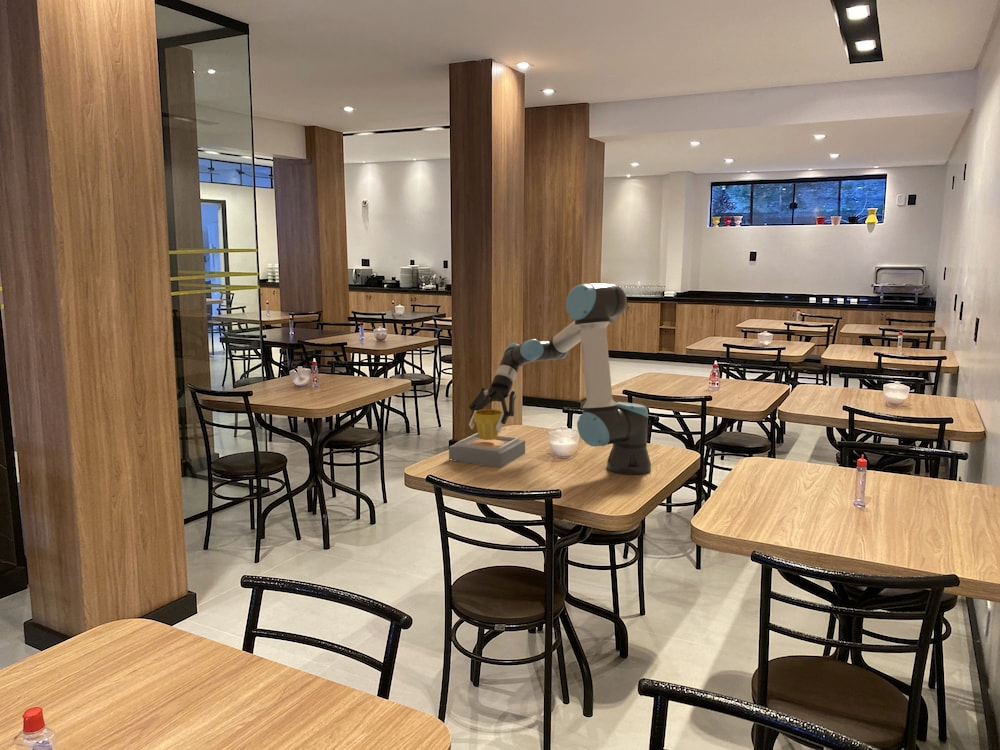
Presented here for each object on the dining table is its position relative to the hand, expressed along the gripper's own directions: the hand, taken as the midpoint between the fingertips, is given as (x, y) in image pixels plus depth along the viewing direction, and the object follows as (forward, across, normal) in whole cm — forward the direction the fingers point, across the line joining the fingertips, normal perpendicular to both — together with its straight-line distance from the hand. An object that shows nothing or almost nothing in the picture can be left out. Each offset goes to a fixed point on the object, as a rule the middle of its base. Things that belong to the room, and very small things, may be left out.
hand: (484, 428), depth 264 cm
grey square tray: (+6, 0, -10) cm, 12 cm away
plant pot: (+1, 0, -5) cm, 5 cm away
